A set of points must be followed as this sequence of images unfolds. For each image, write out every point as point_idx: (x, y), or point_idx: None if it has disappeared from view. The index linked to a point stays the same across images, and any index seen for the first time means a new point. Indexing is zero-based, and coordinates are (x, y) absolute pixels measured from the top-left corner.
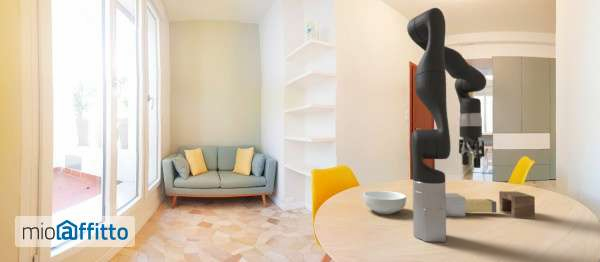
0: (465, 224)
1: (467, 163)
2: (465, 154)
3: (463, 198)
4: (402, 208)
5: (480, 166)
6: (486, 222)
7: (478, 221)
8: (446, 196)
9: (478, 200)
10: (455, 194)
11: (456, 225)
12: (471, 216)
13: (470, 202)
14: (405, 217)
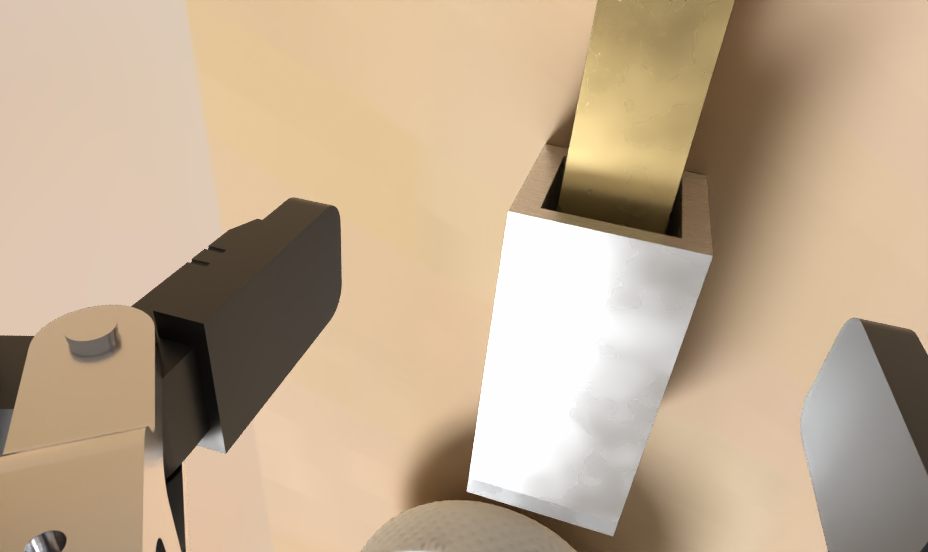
0: (893, 311)
1: (326, 239)
2: (175, 425)
3: (706, 265)
4: (565, 542)
5: (918, 339)
6: (920, 113)
7: (866, 162)
8: (630, 388)
9: (657, 17)
10: (560, 258)
11: None
12: (714, 119)
13: (688, 148)
14: (630, 526)
